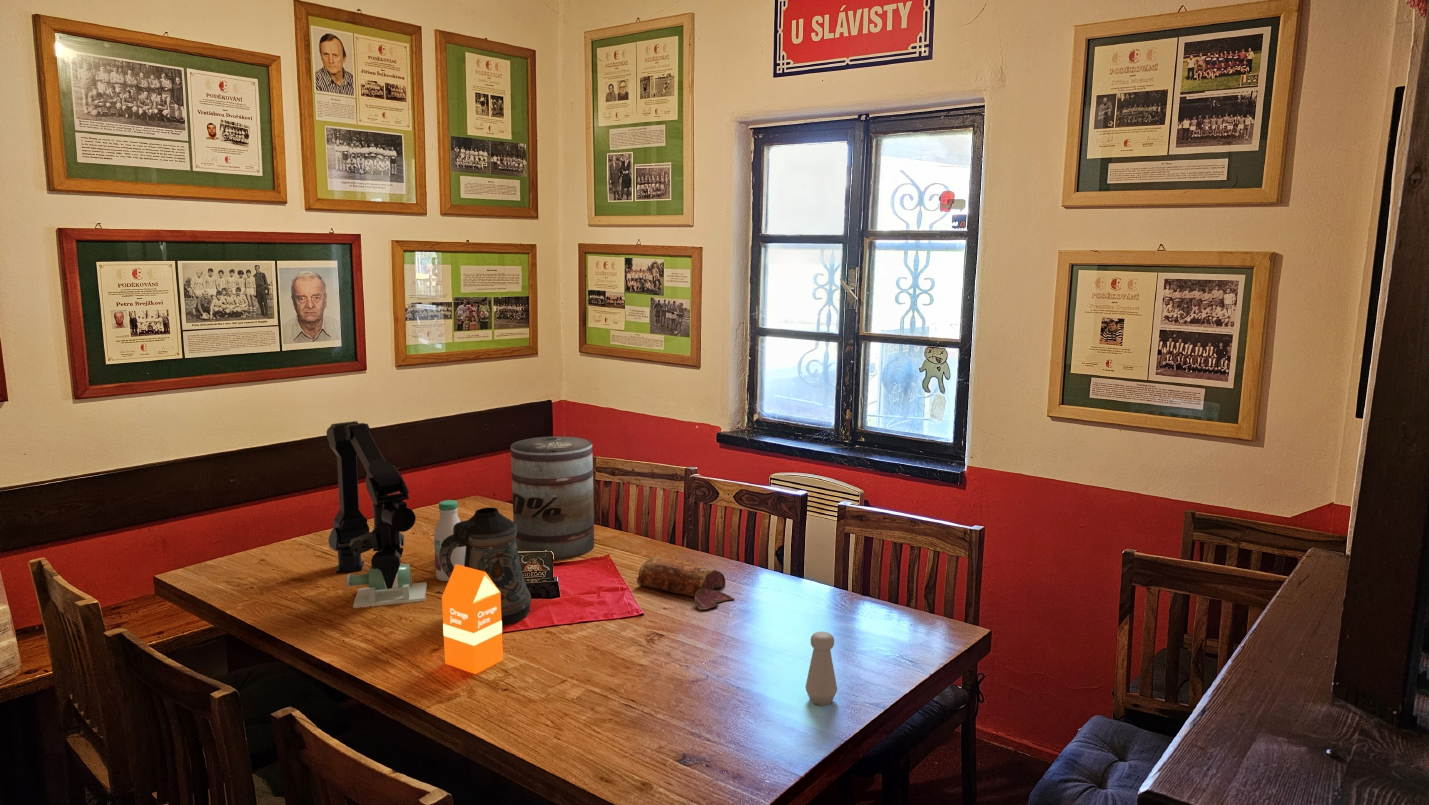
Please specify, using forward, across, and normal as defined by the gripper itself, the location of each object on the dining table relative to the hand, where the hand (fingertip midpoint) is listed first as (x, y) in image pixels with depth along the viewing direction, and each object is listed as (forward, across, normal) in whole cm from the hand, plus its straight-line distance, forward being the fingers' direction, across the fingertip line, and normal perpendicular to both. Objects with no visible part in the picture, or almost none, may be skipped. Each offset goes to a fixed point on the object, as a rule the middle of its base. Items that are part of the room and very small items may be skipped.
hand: (390, 584), depth 214 cm
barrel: (+3, -27, +42) cm, 50 cm away
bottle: (+1, 0, -3) cm, 3 cm away
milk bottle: (+3, -10, +14) cm, 18 cm away
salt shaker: (+3, +76, +81) cm, 111 cm away
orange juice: (+3, +42, +19) cm, 46 cm away
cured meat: (+4, +16, +71) cm, 73 cm away
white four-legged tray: (+3, 0, 0) cm, 3 cm away
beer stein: (+3, +19, +23) cm, 30 cm away
